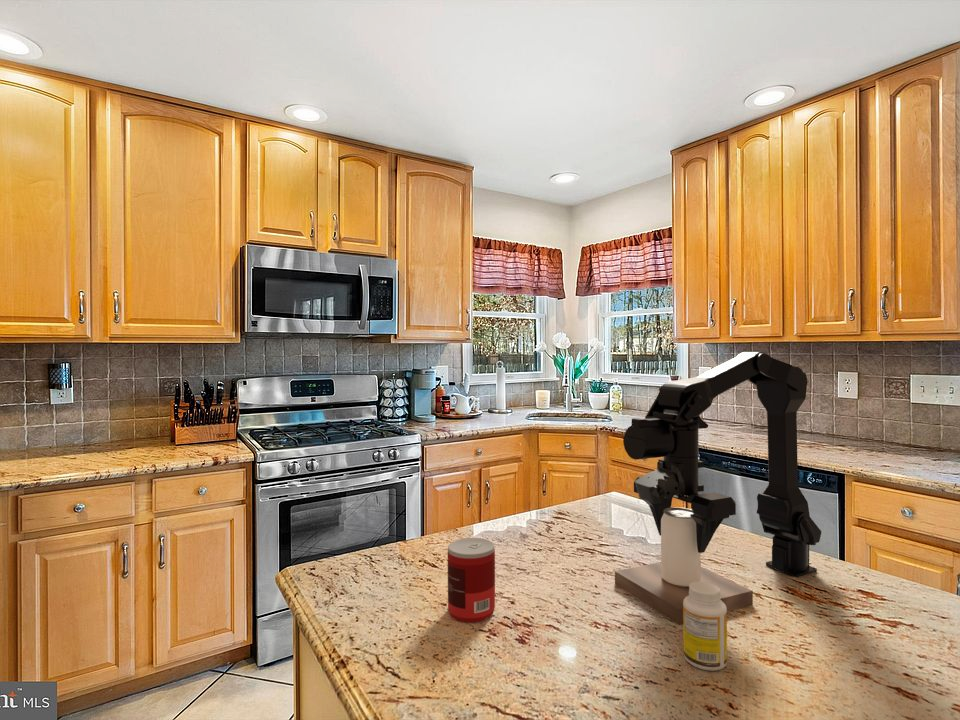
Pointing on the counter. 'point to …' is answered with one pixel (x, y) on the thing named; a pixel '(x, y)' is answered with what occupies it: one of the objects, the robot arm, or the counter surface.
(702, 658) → the supplement bottle
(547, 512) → the counter surface
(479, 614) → the canned food
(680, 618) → the base
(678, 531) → the can
